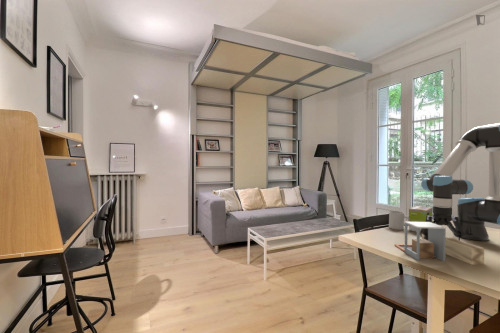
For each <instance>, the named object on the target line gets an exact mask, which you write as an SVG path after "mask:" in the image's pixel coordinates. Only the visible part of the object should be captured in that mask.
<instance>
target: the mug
mask: <svg viewBox="0 0 500 333" xmlns="http://www.w3.org/2000/svg"><path fill="white" fill-rule="evenodd" d="M388 213H389V215H388V228H389V229H392V230H398V231H399V230H401V231H402V230H405V219H407V222H410V219H409V215H405V212H403V211H399V210H390V211H389V212H388ZM407 227H409V224H407Z"/></svg>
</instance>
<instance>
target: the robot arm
mask: <svg viewBox="0 0 500 333" xmlns="http://www.w3.org/2000/svg"><path fill="white" fill-rule="evenodd" d="M481 147H484V148H485V150H486V151H488V156H489V157H488V195H487V196H486V197H460V198H458V199H457V216H455V215H452V214H453V208H452V207H453V195H469V194H471V193H472V192H473V190H474V185H473V183H472V182H471V181H470V180H467V179H453V177H452V176H453V175H454V174H455V172H457V170H458V168H460V167H461V165H463V163H464V162H465V160H466V159H468V156H470V154H471V153H474V152H475V151H476V150H477V149H478V148H481ZM420 184H421V188H422V189H423V190H424V191H427V192H431V193H432V205H433V206H432V216H428V215H427V216H426V221H425V222H432V220H433V222H432V223H434V224H437V225H440V226H447V227H448V228H449V230H450V231H451V233H452V238H454V239H457V240H460V241H461V239H467V240H474V241H489V240H488V239H489V237H490V235H489V234H488V232H487V228H486V226H485V225H486V224H485V223H489V224H492V225H493V224H494V225H495V224H496V225H499V226H500V122H498V123H497V122H496V123H492V124H486V125H479V126H475V127H473V128H471V129H470V130H468V131H466V132H465V133H463V135H462V136H461V137H460V138H459V139H458V140H457V141H456V142H455V147H454V148H453V149H452V150H451V151H450V152H449V154H448V155H447V157H445V159H444V160H443V161H442V163H441V164H440V165H439V166H438V168H436V170H435V171H434V172H433V174H432V175H431V176H430V177H425V178H423V179H422V180H421V183H420ZM422 234H423V235H424V239H426V240H428V228H422V229H421V231H420V235H422Z"/></svg>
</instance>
